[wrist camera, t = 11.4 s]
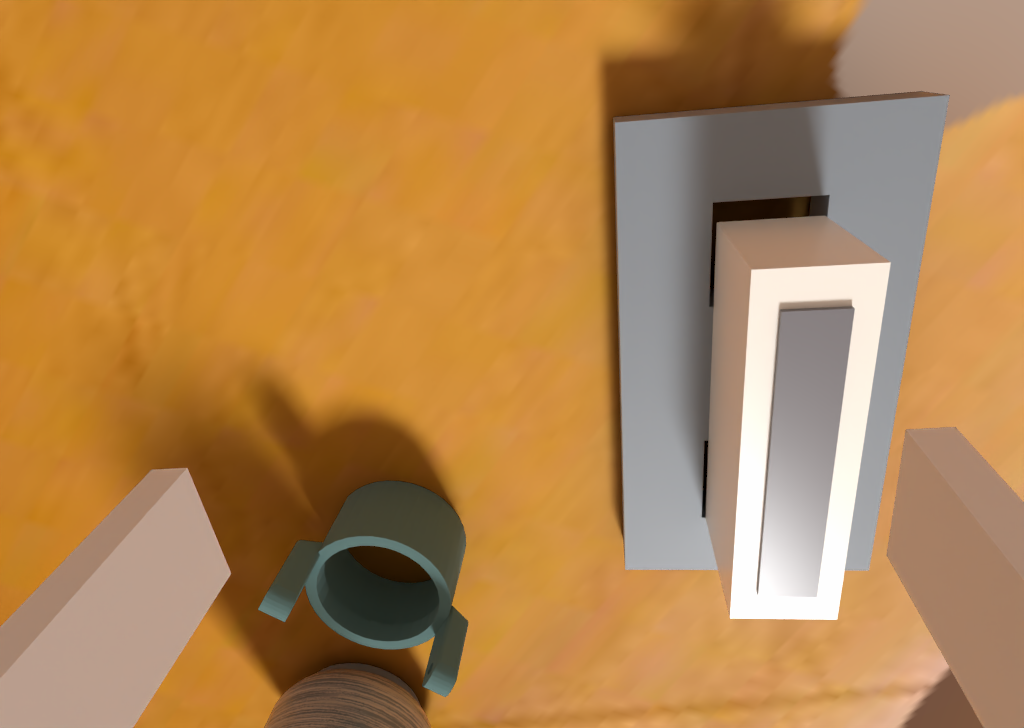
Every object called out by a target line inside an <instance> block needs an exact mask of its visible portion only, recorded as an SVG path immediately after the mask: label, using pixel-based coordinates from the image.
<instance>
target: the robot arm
mask: <svg viewBox="0 0 1024 728" xmlns="http://www.w3.org/2000/svg"><path fill="white" fill-rule="evenodd" d="M887 557H888V559H889V560H890V562H891V564H892V566H893V567H894V569H895V571H896V573H897V575H898V576H899V578H900V580H901V582H902V583H903V585H904V587H905V589H906V591H907V592H908V594H909V596H910V598H911V599H912V601H913V603H914V605H915V607H916V608H917V610H918V612H919V614H920V615H921V617H922V619H923V621H924V623H925V624H926V626H927V628H928V630H929V632H930V633H931V635H932V637H933V639H934V640H935V642H936V644H937V646H938V648H939V649H940V651H941V653H942V655H943V656H944V658H945V660H946V662H947V664H948V665H949V667H950V669H951V671H952V672H953V674H954V676H955V678H956V680H957V681H958V683H959V685H960V687H961V688H962V690H963V692H964V694H965V696H966V697H967V699H968V701H969V703H970V704H971V706H972V708H973V709H974V711H975V713H976V715H977V717H978V719H979V720H980V722H981V724H982V726H983V728H1024V502H1023V501H1022V500H1021V499H1020V498H1019V497H1018V496H1017V494H1016V493H1015V492H1014V491H1013V490H1012V489H1011V488H1010V487H1009V486H1008V485H1007V483H1006V482H1005V481H1004V480H1003V479H1002V478H1001V477H1000V476H999V475H998V473H997V472H996V471H995V470H994V469H993V468H992V467H991V466H990V465H989V464H988V462H987V461H986V460H985V459H984V458H983V457H982V456H981V455H980V454H979V453H978V451H977V450H976V449H975V448H974V447H973V446H972V445H971V444H970V443H969V442H968V440H967V439H966V438H965V437H964V436H963V435H962V434H961V433H960V432H959V430H958V429H957V428H956V427H945V428H926V429H907V430H906V432H905V438H904V445H903V451H902V458H901V464H900V471H899V477H898V484H897V490H896V497H895V503H894V510H893V516H892V523H891V529H890V536H889V542H888V549H887ZM230 575H231V571H230V569H229V567H228V564H227V562H226V559H225V557H224V555H223V552H222V550H221V547H220V545H219V543H218V540H217V538H216V535H215V533H214V531H213V528H212V526H211V523H210V521H209V519H208V516H207V514H206V511H205V509H204V507H203V504H202V502H201V499H200V497H199V495H198V492H197V490H196V487H195V485H194V483H193V480H192V478H191V475H190V473H189V471H188V468H173V469H154V470H151V471H150V472H149V473H148V474H147V475H146V476H145V477H144V478H143V479H142V480H141V481H140V482H139V483H138V484H137V485H136V486H135V488H134V489H133V490H132V491H131V492H130V493H129V494H128V495H127V496H126V497H125V498H124V499H123V500H122V501H121V502H120V503H119V504H118V505H117V506H116V507H115V508H114V509H113V510H112V511H111V512H110V514H109V515H108V516H107V517H106V518H105V519H104V520H103V521H102V522H101V523H100V524H99V525H98V526H97V527H96V528H95V529H94V530H93V531H92V532H91V533H90V534H89V535H88V536H87V537H86V538H85V539H84V541H83V542H82V543H81V544H80V545H79V546H78V547H77V548H76V549H75V550H74V551H73V552H72V553H71V554H70V555H69V556H68V557H67V558H66V559H65V560H64V561H63V562H62V563H61V564H60V565H59V567H58V568H57V569H56V570H55V571H54V572H53V573H52V574H51V575H50V576H49V577H48V578H47V579H46V580H45V581H44V582H43V583H42V584H41V585H40V586H39V587H38V588H37V589H36V590H35V591H34V593H33V594H32V595H31V596H30V597H29V598H28V599H27V600H26V601H25V602H24V603H23V604H22V605H21V606H20V607H19V608H18V609H17V610H16V611H15V612H14V613H13V614H12V615H11V616H10V617H9V618H8V620H7V621H6V622H5V623H4V624H3V625H2V626H1V627H0V728H133V727H134V725H135V724H136V722H137V721H138V719H139V717H140V716H141V714H142V713H143V711H144V710H145V708H146V706H147V705H148V703H149V702H150V700H151V699H152V697H153V695H154V694H155V692H156V691H157V689H158V688H159V686H160V684H161V683H162V681H163V680H164V678H165V677H166V675H167V674H168V672H169V670H170V669H171V667H172V666H173V664H174V663H175V661H176V659H177V658H178V656H179V655H180V653H181V652H182V650H183V648H184V647H185V645H186V644H187V642H188V641H189V639H190V637H191V636H192V634H193V633H194V631H195V630H196V628H197V627H198V625H199V623H200V622H201V620H202V619H203V617H204V616H205V614H206V612H207V611H208V609H209V608H210V606H211V605H212V603H213V601H214V600H215V598H216V597H217V595H218V594H219V592H220V590H221V589H222V587H223V586H224V584H225V583H226V581H227V579H228V578H229V576H230Z"/></svg>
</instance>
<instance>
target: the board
mask: <svg viewBox="0 0 1024 728" xmlns="http://www.w3.org/2000/svg"><path fill="white" fill-rule="evenodd" d="M949 96H950V95H945V94H938V93H930V92H923V91H920V92H907V93H895V94H884V95H872V96H861V97H848V98H836V99H824V100H812V101H800V102H788V103H776V104H764V105H752V106H740V107H728V108H716V109H704V110H692V111H680V112H668V113H656V114H644V115H632V116H620V117H613V134H614V175H615V216H616V258H617V299H618V340H619V381H620V422H621V463H622V504H623V542H624V557H625V570H718V568H717V564H716V559H715V555H714V551H713V547H712V543H711V539H710V535H709V531H708V527H707V523H706V519H705V517H706V491H707V490H703V465H704V441H708V439H709V413H710V386H711V360H712V334H713V308H714V289H710V269H711V241H712V213H713V203H714V202H729V201H744V200H759V199H775V198H790V197H805V196H811V202H810V212H809V216H826V217H828V218H829V219H831V220H832V221H833V222H835V223H836V224H838V225H839V226H840V227H842V228H843V229H845V230H846V231H847V232H849V233H850V234H852V235H853V236H855V237H856V238H857V239H859V240H860V241H862V242H863V243H864V244H866V245H867V246H869V247H870V248H871V249H873V250H874V251H876V252H877V253H878V254H880V255H881V256H883V257H884V258H885V259H887V260H888V261H890V262H891V265H890V271H889V278H888V285H887V291H886V298H885V305H884V311H883V318H882V325H881V331H880V338H879V345H878V351H877V358H876V365H875V371H874V378H873V384H872V391H871V398H870V404H869V411H868V418H867V424H866V431H865V438H864V444H863V451H862V458H861V464H860V471H859V478H858V484H857V491H856V498H855V504H854V511H853V518H852V524H851V531H850V538H849V544H848V551H847V558H846V564H845V570H869V566H870V560H871V555H872V549H873V543H874V537H875V531H876V525H877V519H878V513H879V508H880V502H881V496H882V490H883V484H884V478H885V472H886V466H887V460H888V455H889V449H890V443H891V437H892V431H893V425H894V419H895V413H896V407H897V402H898V396H899V390H900V384H901V378H902V372H903V366H904V360H905V355H906V349H907V343H908V337H909V331H910V325H911V319H912V313H913V307H914V302H915V296H916V290H917V284H918V278H919V272H920V266H921V260H922V255H923V249H924V243H925V237H926V231H927V225H928V219H929V213H930V207H931V202H932V196H933V190H934V184H935V178H936V172H937V166H938V160H939V154H940V149H941V143H942V137H943V131H944V125H945V119H946V113H947V107H948V102H949Z"/></svg>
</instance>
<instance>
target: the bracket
mask: <svg viewBox="0 0 1024 728" xmlns="http://www.w3.org/2000/svg"><path fill="white" fill-rule="evenodd" d="M356 546H378V547H384V548H388V549H391V550H394V551H397V552H399V553H401V554H403V555H405V556H407V557H409V558H411V559H412V560H414V561H415V562H417V563H418V564H419V565H420V566H421V567H422V568H423V569H424V570H425V571H426V572H427V573H428V574H429V576H430V577H431V578H432V579H431V580H427V581H424V582H416V583H402V582H397V581H391V580H388V579H385V578H382V577H380V576H378V575H376V574H374V573H372V572H370V571H369V570H367V569H366V568H364V567H363V566H362V565H361V564H360V563H358V562H357V561H356V560H355V559H354V557H353V556H352V555H351V554H350V552H349V551H348V549H347V548H350V547H356ZM465 547H466V535H465V531H464V527H463V525H462V523H461V521H460V518H459V516H458V515H457V514H456V512H455V511H454V510H453V508H452V507H451V506H450V505H449V504H448V503H447V502H446V501H445V500H444V499H442V498H441V497H439V496H438V495H437V494H435V493H434V492H432V491H430V490H428V489H426V488H424V487H421V486H418V485H415V484H412V483H407V482H402V481H380V482H374V483H371V484H368V485H365V486H363V487H361V488H359V489H357V490H355V491H354V492H353V493H352V494H350V495H349V496H348V497H347V499H346V501H345V503H344V505H343V507H342V508H341V510H340V512H339V514H338V516H337V518H336V519H335V521H334V523H333V525H332V527H331V529H330V531H329V532H328V534H327V536H326V538H325V540H324V542H323V543H322V542H314V541H306V540H299V541H297V543H296V544H295V546H294V548H293V549H292V551H291V553H290V555H289V556H288V558H287V560H286V561H285V563H284V565H283V566H282V568H281V570H280V571H279V573H278V575H277V577H276V578H275V580H274V582H273V583H272V585H271V587H270V588H269V590H268V592H267V594H266V595H265V597H264V599H263V601H262V603H261V605H260V607H259V609H258V610H260V611H262V612H264V613H266V614H268V615H270V616H272V617H275V618H277V619H279V620H281V621H283V622H285V621H286V619H287V617H288V616H289V614H290V612H291V610H292V608H293V606H294V605H295V603H296V601H297V599H298V597H299V595H300V593H301V591H302V589H303V587H304V586H305V587H306V593H307V596H308V599H309V602H310V604H311V606H312V607H313V609H314V611H315V612H316V614H317V615H318V616H319V617H320V619H321V620H322V621H323V622H324V623H325V624H326V625H328V626H329V627H330V628H331V629H332V630H334V631H335V632H337V633H338V634H339V635H341V636H343V637H345V638H347V639H349V640H351V641H353V642H356V643H358V644H361V645H365V646H368V647H372V648H379V649H404V648H409V647H413V646H417V645H420V644H422V643H424V642H426V641H428V640H429V639H431V638H432V637H434V636H435V638H434V642H433V646H432V650H431V653H430V657H429V661H428V665H427V669H426V673H425V676H424V680H423V684H422V686H423V687H425V688H427V689H429V690H431V691H433V692H436V693H438V694H440V695H442V696H444V697H446V696H447V695H448V694H449V693H450V692H451V690H452V688H453V686H454V684H455V682H456V680H457V675H458V670H459V665H460V661H461V656H462V651H463V646H464V642H465V637H466V632H467V627H468V621H467V620H466V619H465V618H464V617H463V616H462V615H461V614H460V613H459V612H458V611H457V610H456V609H455V608H454V607H453V606H452V602H453V598H454V594H455V589H456V585H457V581H458V577H459V573H460V569H461V565H462V561H463V557H464V553H465Z"/></svg>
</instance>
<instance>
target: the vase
mask: <svg viewBox="0 0 1024 728" xmlns="http://www.w3.org/2000/svg"><path fill="white" fill-rule="evenodd" d="M264 728H431V725H430V723H429V721H428V718H427V716H426V714H425V712H424V711H423V709H422V708H421V706H420V703H419V701H418V698H417V696H416V695H415V693H414V692H413V690H412V689H411V688H410V687H409V686H408V685H407V684H406V683H405V682H403V681H402V680H401V679H400V678H398V677H397V676H395V675H393V674H392V673H390V672H388V671H386V670H383V669H381V668H378V667H375V666H371V665H367V664H361V663H342V664H336V665H332V666H329V667H327V668H324V669H322V670H320V671H319V672H318V673H315V674H313V675H310V676H308V677H306V678H304V679H302V680H300V681H299V682H297V683H296V684H295V685H293V686H292V687H290V688H289V689H288V690H287V691H286V692H285V693H284V694H283V695H282V696H281V697H280V699H279V700H278V701H277V703H276V704H275V706H274V708H273V710H272V712H271V714H270V716H269V719H268V721H267V723H266V725H265V727H264Z"/></svg>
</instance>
